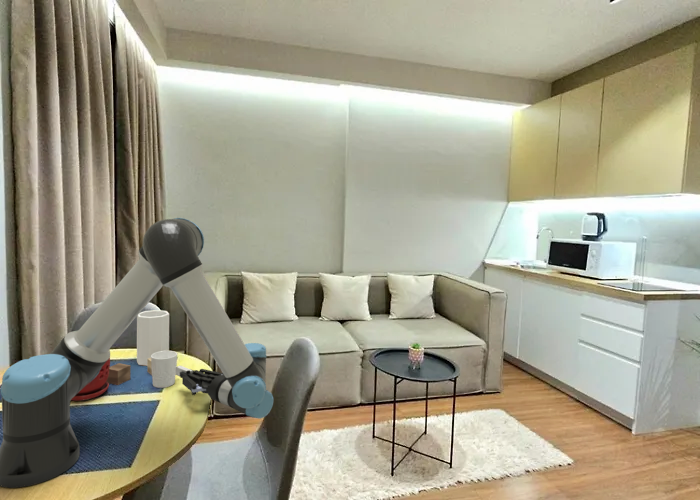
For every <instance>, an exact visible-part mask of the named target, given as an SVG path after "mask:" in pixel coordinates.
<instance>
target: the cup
mask: <svg viewBox="0 0 700 500" xmlns="http://www.w3.org/2000/svg"><path fill="white" fill-rule="evenodd" d="M160 351H170V313H169V312H168V311H167V310H162V309H161V310H159V309H154V310H143V311H141V312H140V313H139V314H138V316H137V317H136V362H137V364H138V365H139V366H146V367H147V359H148V358H151V355H152V354H154V353H156V352H160Z"/></svg>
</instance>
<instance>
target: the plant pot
mask: <svg viewBox="0 0 700 500" xmlns="http://www.w3.org/2000/svg"><path fill="white" fill-rule="evenodd" d="M110 367H111V357H110V358H109V359H108V360H107V362H106V363H105V364H104V365H103V366H102V368H101V370H100V371H99V373H98V375H97V376H96V377H95V378H94V379H93V380H92V381H91V382H89V383H88V384H87V385H86V386H85V387H84V388H83V389H82V390H81V391H79V392H78V393H77V394H76V395H75V396H74V397H73V398H72V399H71V400H70V401H74V402H75V401H77V402H78V401H88V400H91V399H94V398H97V397H99V396H101V395H103V394H104V393H105V392H106V391H107V390H108V389H109V386H110V383H108V382H106V381H107V378H108V375H109V368H110Z"/></svg>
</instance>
